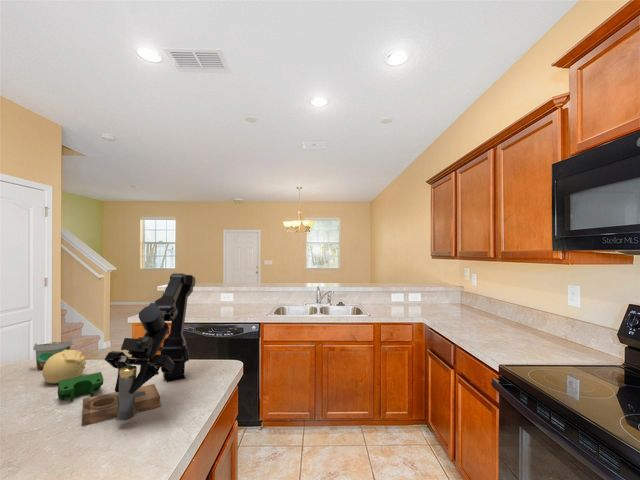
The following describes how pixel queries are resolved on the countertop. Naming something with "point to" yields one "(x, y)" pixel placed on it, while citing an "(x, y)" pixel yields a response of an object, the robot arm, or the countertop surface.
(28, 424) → the countertop surface
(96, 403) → the socket plate
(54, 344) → the food container
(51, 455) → the countertop surface
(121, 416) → the grey and gold cylinder
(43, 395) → the countertop surface
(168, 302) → the robot arm
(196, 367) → the countertop surface
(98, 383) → the clamp
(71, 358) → the sculpture
